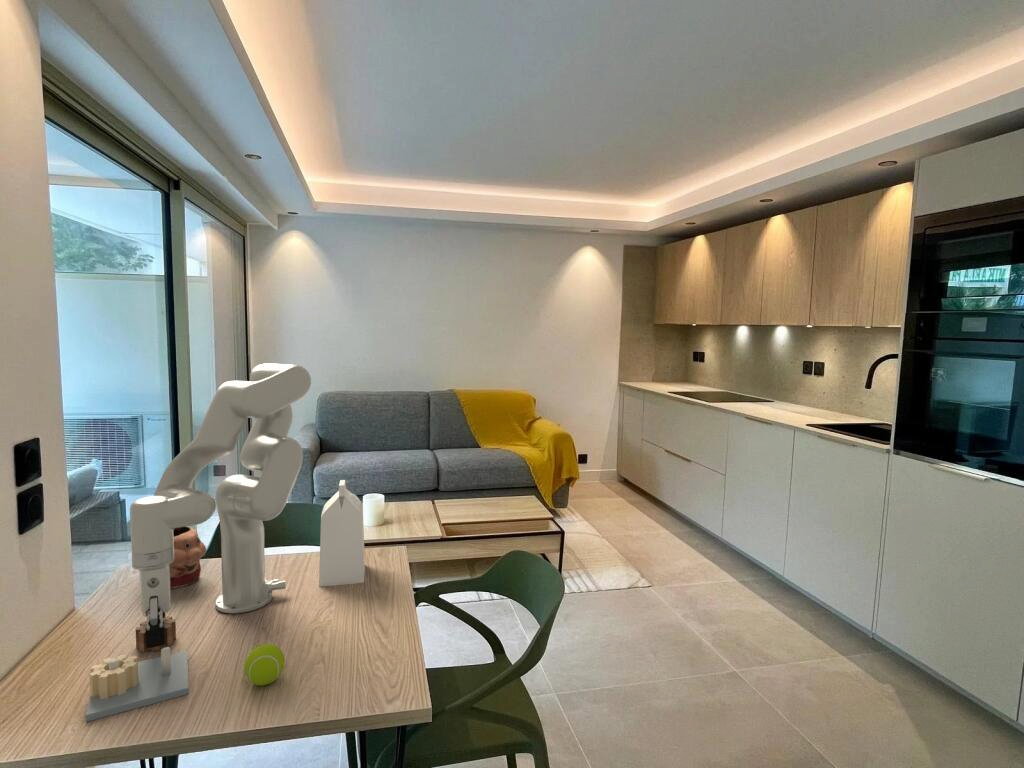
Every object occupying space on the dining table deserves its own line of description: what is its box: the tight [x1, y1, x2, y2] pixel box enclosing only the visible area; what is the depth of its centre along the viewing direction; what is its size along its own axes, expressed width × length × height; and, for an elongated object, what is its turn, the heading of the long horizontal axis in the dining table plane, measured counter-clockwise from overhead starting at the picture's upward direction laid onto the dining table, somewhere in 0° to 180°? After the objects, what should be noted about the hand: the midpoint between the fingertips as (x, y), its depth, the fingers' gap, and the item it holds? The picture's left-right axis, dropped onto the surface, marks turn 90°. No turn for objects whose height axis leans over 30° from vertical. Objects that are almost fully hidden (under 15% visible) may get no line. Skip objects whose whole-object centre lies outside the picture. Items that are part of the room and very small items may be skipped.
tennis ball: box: [243, 643, 286, 686], centre depth 105 cm, size 7×7×7 cm
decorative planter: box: [169, 526, 207, 589], centre depth 148 cm, size 20×12×14 cm, turn 73°
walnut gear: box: [135, 615, 177, 653], centre depth 118 cm, size 7×7×4 cm
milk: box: [318, 479, 366, 587], centre depth 152 cm, size 12×12×26 cm
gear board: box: [85, 646, 190, 723], centre depth 104 cm, size 15×14×6 cm
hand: (156, 636), depth 118 cm, fingers closed on walnut gear, 7 cm apart
